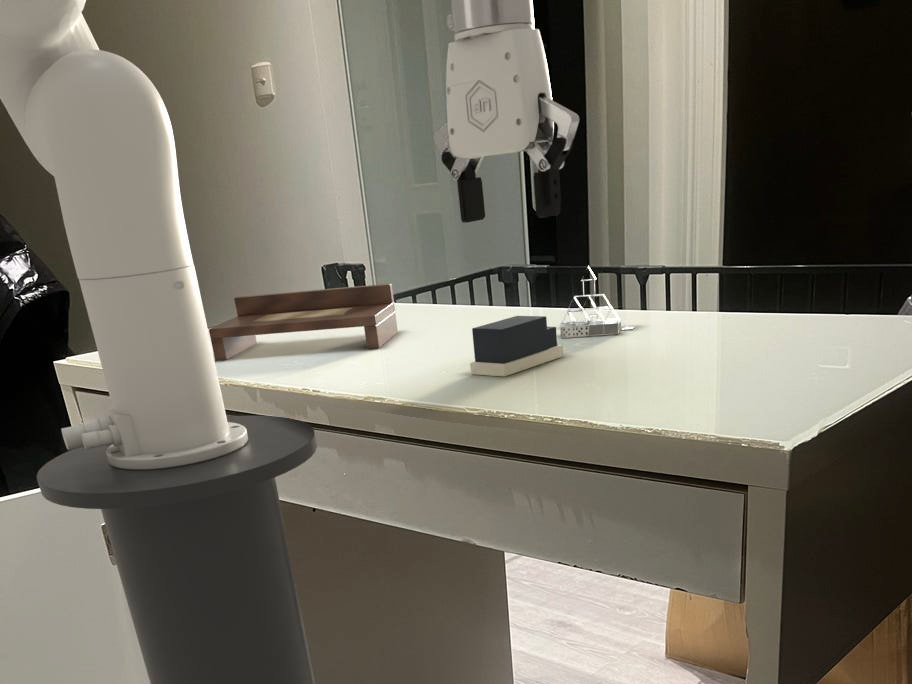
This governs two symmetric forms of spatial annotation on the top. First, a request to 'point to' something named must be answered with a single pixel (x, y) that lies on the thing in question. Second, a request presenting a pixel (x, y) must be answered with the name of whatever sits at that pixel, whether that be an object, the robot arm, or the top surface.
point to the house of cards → (591, 326)
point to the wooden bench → (307, 316)
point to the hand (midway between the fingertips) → (510, 218)
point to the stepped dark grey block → (513, 345)
